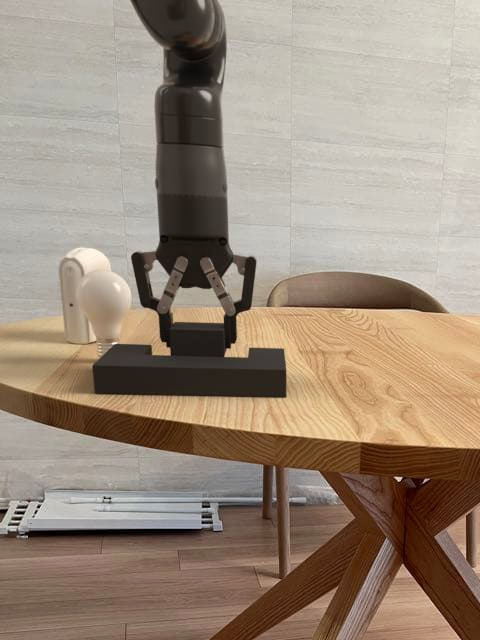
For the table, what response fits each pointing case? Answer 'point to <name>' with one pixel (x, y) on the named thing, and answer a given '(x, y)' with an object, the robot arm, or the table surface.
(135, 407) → the table surface
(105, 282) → the lightbulb
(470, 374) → the table surface
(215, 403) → the table surface
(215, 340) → the black block
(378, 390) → the table surface
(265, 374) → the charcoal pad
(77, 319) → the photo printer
